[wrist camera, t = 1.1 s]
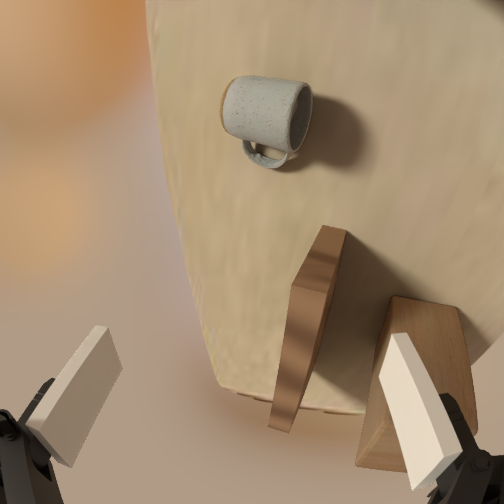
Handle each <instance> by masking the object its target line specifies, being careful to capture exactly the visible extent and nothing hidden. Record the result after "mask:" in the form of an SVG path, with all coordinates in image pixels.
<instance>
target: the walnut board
mask: <svg viewBox="0 0 504 504" xmlns="http://www.w3.org/2000/svg"><path fill="white" fill-rule="evenodd" d="M345 235H346V230H343V229H338V228H334V227H329V226H324V225H322V227H321V229H320V231H319V233H318V235H317V237H316V239H315V241H314V243H313V245H312V247H311V249H310V251H309V253H308V255H307V257H306V259H305V260H304V262H303V264H302V266H301V268H300V270H299V272H298V274H297V276H296V277H295V279H294V281H293V283H292V285H291V292H290V299H289V306H288V313H287V320H286V326H285V333H284V339H283V345H282V351H281V358H280V364H279V369H278V375H277V381H276V387H275V392H274V398H273V403H272V409H271V414H270V419H269V425H268V427H270V428H273V429H277V430H280V431H283V432H286V433H289V431H290V429H291V427H292V424H293V422H294V419H295V417H296V414H297V412H298V409H299V406H300V404H301V401H302V398H303V396H304V393H305V390H306V388H307V385H308V382H309V379H310V377H311V374H312V371H313V368H314V365H315V362H316V358H317V355H318V351H319V348H320V344H321V340H322V337H323V333H324V329H325V325H326V321H327V317H328V313H329V309H330V305H331V301H332V297H333V292H334V288H335V284H336V279H337V275H338V270H339V265H340V261H341V256H342V251H343V246H344V241H345Z"/></svg>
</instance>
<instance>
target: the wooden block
mask: <svg viewBox="0 0 504 504" xmlns="http://www.w3.org/2000/svg"><path fill="white" fill-rule="evenodd" d="M395 333H407V334H408V336H409V338H410V340H411V342H412V343H413V345H414V347H415V349H416V351H417V353H418V355H419V357H420V359H421V361H422V362H423V364H424V366H425V368H426V370H427V372H428V374H429V376H430V378H431V380H432V382H433V384H434V387H435V389H436V391H437V393H438V394H443V393H447V392H448V393H449V394H450V395H451V396H452V397H453V398H454V399H455V400H456V401H457V403H458V405H459V407H460V409H461V412H462V413H463V415H464V417H465V418H464V419H466V422H467V424H468V426H469V428H470V430H471V432H472V435H473V437H474V436H475V435H476V433H477V431H478V421H477V410H476V402H475V393H474V386H473V379H472V374H471V367H470V362H469V356H468V351H467V347H466V342H465V337H464V333H463V329H462V325H461V321H460V317H459V313H458V309H457V308H456V307H454V306H448V305H442V304H437V303H431V302H425V301H420V300H414V299H409V298H403V297H398V296H393V297H392V299H391V301H390V305H389V308H388V311H387V315H386V318H385V321H384V324H383V327H382V330H381V333H380V336H379V339H378V342H377V345H376V348H375V356H374V364H373V371H372V378H371V385H370V391H369V397H368V403H367V408H366V414H365V419H364V424H363V429H362V433H361V438H360V443H359V447H358V451H357V455H356V459H355V466H357V467H363V468H370V469H377V470H386V471H394V472H405V473H408V472H407V468H406V464H405V461H404V457H403V453H402V450H401V446H400V443H399V439H398V436H397V432H396V429H395V426H394V422H393V419H392V416H391V413H390V410H389V406H388V403H387V400H386V397H385V394H384V391H383V388H382V385H381V382H380V379H379V374H380V371H381V368H382V365H383V362H384V359H385V355H386V352H387V349H388V345H389V342H390V338H391V335H392V334H395Z"/></svg>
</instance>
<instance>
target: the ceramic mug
mask: <svg viewBox="0 0 504 504" xmlns="http://www.w3.org/2000/svg"><path fill="white" fill-rule="evenodd" d="M312 107H313V95H312V90H311V87H310V86H309V84H307V83H304V82H298V81H290V80H284V79H277V78H267V77H260V76H241V77H237V78H235V79H234V80H232V81H231V82H230V83H229V84H228V86H227V87H226V89H225V91H224V93H223V95H222V98H221V102H220V120H221V123H222V126H223V128H224V129H225V131H226V132H227V133H229V134H230V135H232V136H235V137H237V138H240V139H241V143H242V148H243V150H244V152H245V154H246V155H247V157H248V158H249V159H250V160H251V161H252V162H254V163H256V164H258V165H259V166H262V167H265V168H269V169H275V168H278V167H280V166H282V165H283V164H284V163H285V162H286V161H287V160H288V158H289V157H290V155H291V153H295V152H296V151H297V150H298V149H299V148H300V147H301V145H302V143H303V141H304V139H305V136H306V134H307V131H308V127H309V123H310V120H311V114H312ZM250 141H252V142H256V143H259V144H262V145H266V146H269V147H272V148H275V149H279V150H282V151H285V152H286V155H285V157H284V158H283V159H281V160H274V159H271V158H268V157H265V156H263V155H261V154H258V153H257V152H256V151H255V150H254V149H253V147H252V145H251V142H250Z"/></svg>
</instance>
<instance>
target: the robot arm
mask: <svg viewBox="0 0 504 504" xmlns="http://www.w3.org/2000/svg"><path fill="white" fill-rule="evenodd" d="M122 369H123V368H122V365H121V363H120V360H119V357H118V354H117V352H116V349H115V346H114V343H113V340H112V337H111V334H110V331H109V328H108V327H102V326H95V327H94V328H93V330H92V331H91V332H90V334H89V335H88V336H87V337H86V339H85V340H84V341H83V343H82V344H81V345H80V347H79V348H78V349H77V351H76V352H75V353H74V355H73V356H72V357H71V359H70V360H69V361H68V363H67V364H66V366H65V367H64V368H63V370H62V371H61V372H60V374H59V375H58V377H57V378H56V379H54V378H51V379H50V380H48V381H47V382H45V383H44V384H43V385H42V387H41V388H40V390H39V391H38V394H36V395H35V397H34V398H33V400H32V401H31V403H30V404H29V405H28V407H27V408H26V410H25V411H24V413H23V414H22V416H21V417H20V419H19V421H17V422H16V420H15V419H14V418H13V416H12V415H11V414H10V413H9V412H8V411H7V410H4V409H1V410H0V504H64V503H63V500H62V497H61V494H60V491H59V487H58V484H57V481H56V477H55V474H54V470H53V466H52V463H51V461H50V460H49V459H50V457H51V455H52V456H53V457H54V459H55V460H56V461H57V462H58V463H61V464H63V465H65V466H68V467H71V468H72V466H73V464H74V462H75V460H76V458H77V456H78V454H79V452H80V450H81V448H82V445H83V444H84V442H85V440H86V437H87V436H88V434H89V431H90V430H91V428H92V425H93V424H94V422H95V420H96V418H97V416H98V414H99V412H100V410H101V408H102V406H103V404H104V402H105V400H106V399H107V397H108V395H109V393H110V391H111V389H112V387H113V386H114V383H115V382H116V380H117V378H118V376H119V375H120V373H121V371H122ZM379 379H380V382H381V385H382V388H383V391H384V394H385V397H386V400H387V403H388V406H389V410H390V413H391V416H392V419H393V422H394V426H395V429H396V432H397V436H398V439H399V443H400V446H401V450H402V453H403V457H404V461H405V464H406V468H407V472H408V476H409V480H410V484H411V488H412V490H417V489H421V488H424V487H428V486H430V485H431V484H432V483H433V482H434V481H435V480H436V481H437V485H438V486H437V487H436V488H435V489H433V490H432V491H431V492H430V493H429V495H428V496H427V497H430V496H431V495H432V496H431V498H430V500H429V502H428V504H504V455H499V456H491V455H490V454H489V453H488V452H487V451H485V450H481V449H479V448H478V446H477V444H476V442H475V439H474V437H473V435H472V432H471V430H470V428H469V426H468V424H467V422H466V419H464V418H465V417H464V415H463V413H462V412H461V409H460V407H459V405H458V403H457V401H456V400H455V399H454V398H453V397H452V396H451V395H450V394H449V393H448V392H447V393H443V394H438V393H437V391H436V389H435V387H434V384H433V382H432V380H431V378H430V376H429V374H428V372H427V370H426V368H425V366H424V364H423V362H422V361H421V359H420V357H419V355H418V353H417V351H416V349H415V347H414V345H413V343H412V342H411V340H410V338H409V336H408V334H407V333H395V334H392V335H391V338H390V342H389V345H388V349H387V352H386V355H385V359H384V362H383V365H382V368H381V371H380V374H379Z"/></svg>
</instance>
